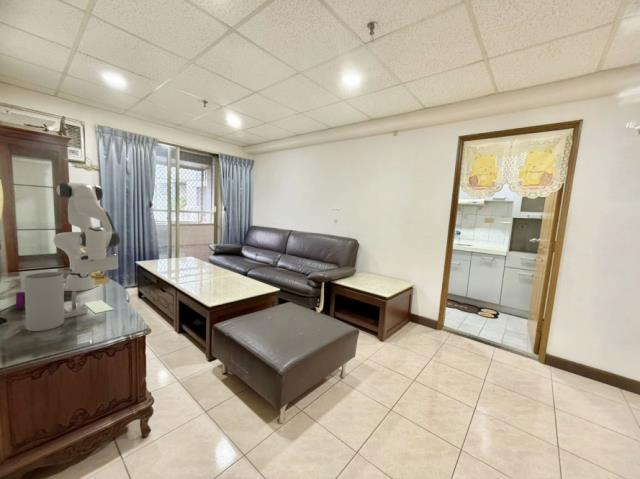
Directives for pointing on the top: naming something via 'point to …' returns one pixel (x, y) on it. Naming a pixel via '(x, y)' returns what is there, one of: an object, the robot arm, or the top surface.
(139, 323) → the top surface
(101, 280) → the brass hook
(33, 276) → the cylinder vase
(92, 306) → the sage mat
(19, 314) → the top surface
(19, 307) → the mounting bracket
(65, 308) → the toggle switch block
